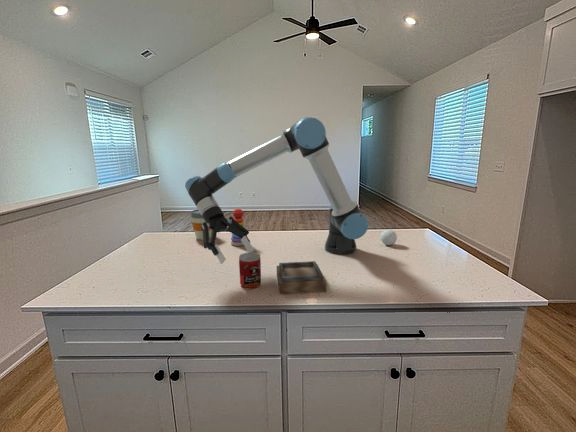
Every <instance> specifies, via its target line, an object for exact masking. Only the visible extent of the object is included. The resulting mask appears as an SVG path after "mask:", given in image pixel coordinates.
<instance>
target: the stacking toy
mask: <svg viewBox="0 0 576 432" xmlns="http://www.w3.org/2000/svg"><path fill="white" fill-rule="evenodd" d="M232 214H233V216H234V217H233V219H234V220H235V221H236V222H238V223H239V224H240V225H241V226H243V227H244V228H245V225H244V218H243V217H244V216H243V215H244V211H243V210H242V209H241V208H235V209H234V210H233V212H232ZM241 239H242V238H240V237H238V236H236V235H234V234H232V233H231V239H230V244H231V245H232V246H235V247H236V246H237V247H240V246H241V247H242V246H244V244H243V243H242V241H241Z"/></svg>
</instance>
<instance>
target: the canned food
mask: <svg viewBox="0 0 576 432" xmlns="http://www.w3.org/2000/svg"><path fill="white" fill-rule="evenodd" d="M261 262H262V261H261V254H260V253H257V252H251V253H249V252H244V253H241V254H240V255H239V256H238V267H239V268H238V270H239V284H240V286H241V288H244V289H247V290H252V289H253V290H254V289H256V288H258V287H260V286H261V284H262V274H261V273H262V272H261V271H262V269H261V267H262V265H261V264H262V263H261Z"/></svg>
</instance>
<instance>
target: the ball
mask: <svg viewBox="0 0 576 432" xmlns="http://www.w3.org/2000/svg"><path fill="white" fill-rule="evenodd" d="M380 240H381V243H382V244H383V245H386V246H392V245H394V244H395V243H396V242H397V240H398V235H397V232H395V231H394V230H392V229H385V230H383V231H382V232H381V234H380Z"/></svg>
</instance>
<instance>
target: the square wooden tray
mask: <svg viewBox="0 0 576 432" xmlns="http://www.w3.org/2000/svg"><path fill="white" fill-rule="evenodd" d="M276 279H277V285H278V291H279V295H290V294H294V295H295V294H306V293H307V294H309V293H312V294H313V293H326V292H327V280H326V278H325V275H324V274H323V272H322V271H321V268H320V267H319V265H318V263H317V262H316V261H315V260H314V261H312V260H311V261H292V262H291V261H290V262H289V261H288V262H287V261H286V262H279V263H278V265H276Z"/></svg>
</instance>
